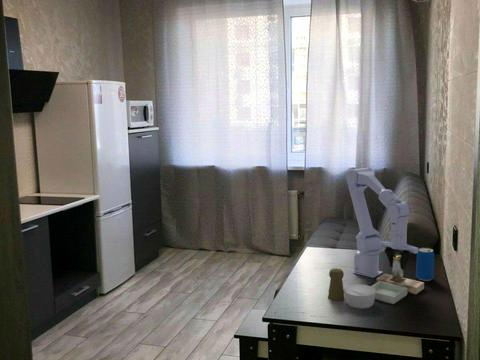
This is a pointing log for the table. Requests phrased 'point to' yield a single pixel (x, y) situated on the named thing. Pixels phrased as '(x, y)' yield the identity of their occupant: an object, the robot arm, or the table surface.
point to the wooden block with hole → (403, 283)
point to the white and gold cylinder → (397, 267)
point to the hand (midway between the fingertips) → (397, 267)
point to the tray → (389, 292)
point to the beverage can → (425, 264)
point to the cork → (336, 285)
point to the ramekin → (359, 295)
